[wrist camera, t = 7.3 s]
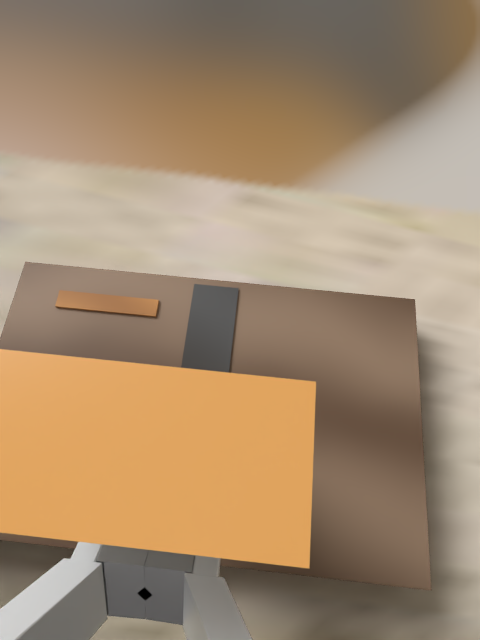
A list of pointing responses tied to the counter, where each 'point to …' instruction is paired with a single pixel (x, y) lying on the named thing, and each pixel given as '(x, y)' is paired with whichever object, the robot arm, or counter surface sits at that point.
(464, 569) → the counter surface
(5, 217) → the counter surface
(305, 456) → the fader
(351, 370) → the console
